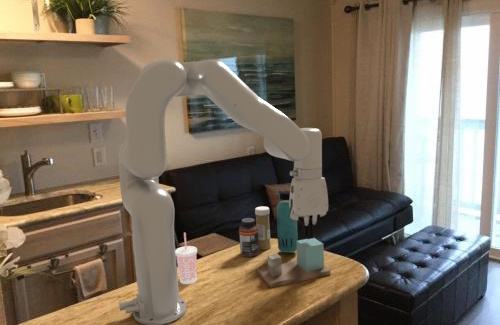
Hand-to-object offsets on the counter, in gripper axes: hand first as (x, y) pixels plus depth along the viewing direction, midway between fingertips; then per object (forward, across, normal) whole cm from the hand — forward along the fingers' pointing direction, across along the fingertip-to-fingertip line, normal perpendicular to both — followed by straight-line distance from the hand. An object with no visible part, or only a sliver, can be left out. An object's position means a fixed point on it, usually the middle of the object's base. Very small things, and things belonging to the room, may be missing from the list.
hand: (308, 237), depth 124 cm
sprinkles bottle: (+10, -5, +22) cm, 25 cm away
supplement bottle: (+10, -11, +19) cm, 24 cm away
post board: (+10, -5, 0) cm, 11 cm away
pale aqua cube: (+9, +1, 0) cm, 9 cm away
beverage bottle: (+10, 0, +14) cm, 17 cm away
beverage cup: (+11, -33, +9) cm, 36 cm away
